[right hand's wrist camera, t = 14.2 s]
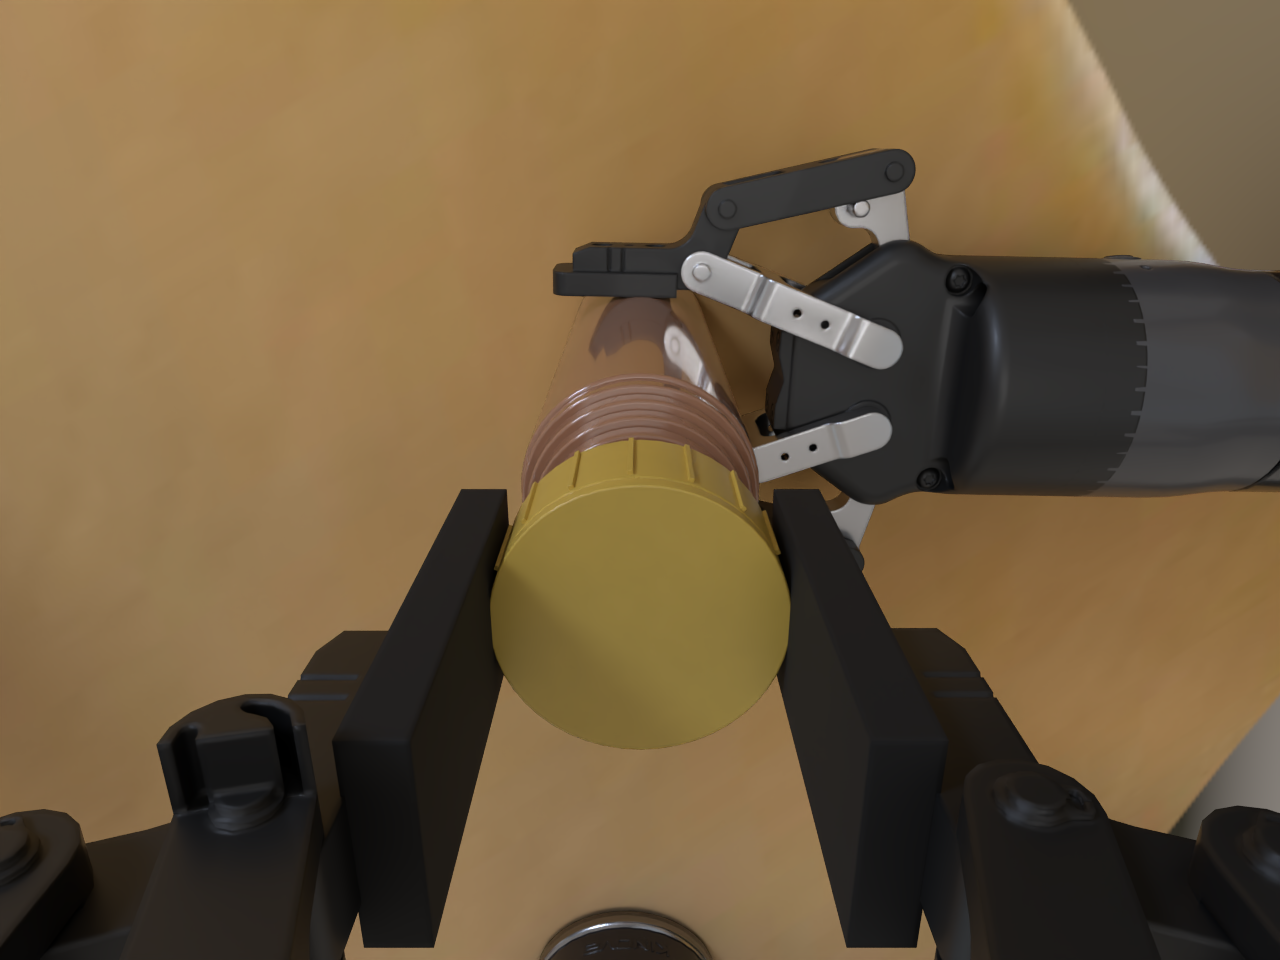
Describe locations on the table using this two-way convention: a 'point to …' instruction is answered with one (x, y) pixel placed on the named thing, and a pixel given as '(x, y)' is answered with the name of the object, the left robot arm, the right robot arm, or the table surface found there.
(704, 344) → the bottle
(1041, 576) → the table surface
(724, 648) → the cap
